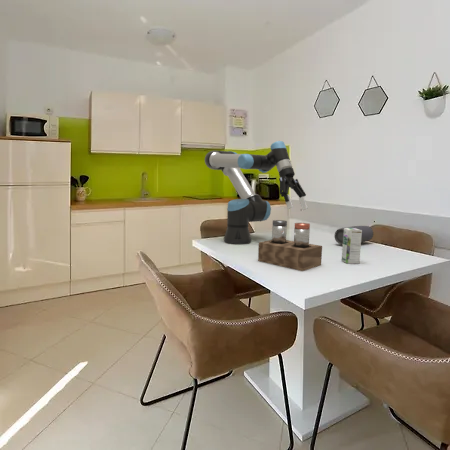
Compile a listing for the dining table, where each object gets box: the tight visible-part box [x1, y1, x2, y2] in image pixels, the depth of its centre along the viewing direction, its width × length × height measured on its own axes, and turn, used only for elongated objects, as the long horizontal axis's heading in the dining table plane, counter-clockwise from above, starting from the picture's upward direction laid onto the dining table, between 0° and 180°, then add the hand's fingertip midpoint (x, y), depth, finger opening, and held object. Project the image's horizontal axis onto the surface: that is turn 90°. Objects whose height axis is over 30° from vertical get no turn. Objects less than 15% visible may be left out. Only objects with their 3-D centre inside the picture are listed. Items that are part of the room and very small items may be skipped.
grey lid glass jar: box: [271, 219, 288, 244], centre depth 147 cm, size 6×6×10 cm
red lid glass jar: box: [293, 222, 311, 248], centre depth 139 cm, size 6×6×10 cm
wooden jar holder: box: [257, 239, 323, 272], centre depth 144 cm, size 22×14×8 cm, turn 45°
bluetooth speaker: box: [333, 225, 374, 245], centre depth 188 cm, size 23×9×10 cm, turn 123°
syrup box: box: [341, 227, 362, 265], centre depth 147 cm, size 6×6×14 cm
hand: (298, 208), depth 171 cm, fingers open, 13 cm apart
